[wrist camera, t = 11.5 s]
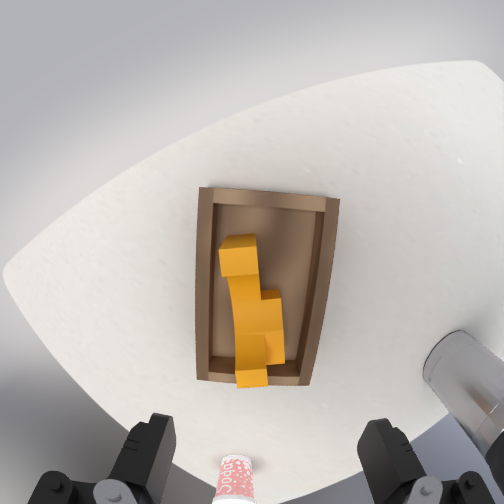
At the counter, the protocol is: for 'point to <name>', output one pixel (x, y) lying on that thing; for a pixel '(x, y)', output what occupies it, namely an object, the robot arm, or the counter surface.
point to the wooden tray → (264, 275)
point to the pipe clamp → (251, 312)
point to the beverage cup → (235, 481)
